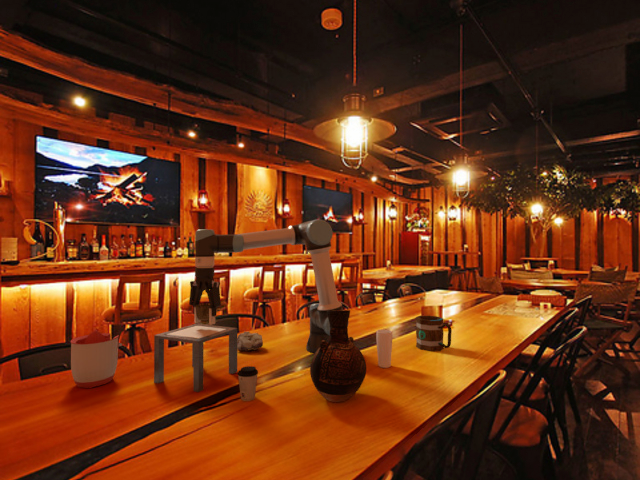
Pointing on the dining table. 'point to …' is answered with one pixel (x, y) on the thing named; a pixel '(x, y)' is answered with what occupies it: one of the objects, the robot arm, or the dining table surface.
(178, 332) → the trapdoor
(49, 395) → the dining table surface
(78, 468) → the dining table surface
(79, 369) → the citrus juicer
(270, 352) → the dining table surface
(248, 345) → the geode
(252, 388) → the coffee cup
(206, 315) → the brown rounded piece
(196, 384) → the stand
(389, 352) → the drinking glass
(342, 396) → the ceramic vessel
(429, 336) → the mug
